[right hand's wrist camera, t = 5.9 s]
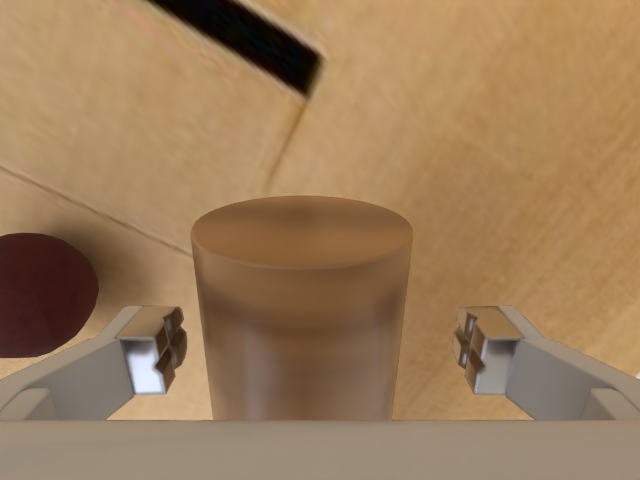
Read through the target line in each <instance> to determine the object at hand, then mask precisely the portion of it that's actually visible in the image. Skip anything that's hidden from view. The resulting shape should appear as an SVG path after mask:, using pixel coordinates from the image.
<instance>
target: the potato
mask: <svg viewBox="0 0 640 480" xmlns="http://www.w3.org/2000/svg"><path fill="white" fill-rule="evenodd" d="M98 291H99V289H98V280H97V277H96V274H95V272H94V270H93V268H92V266H91V264H90V263H89V261H88V260H87V259H86V258H85V257H84V256H83V255H82V254H81V253H80V252H79V251H77V250H76V249H75V248H73V247H72V246H71V245H69V244H68V243H66V242H65V241H63V240H60V239H57V238H55V237H52V236H48V235H44V234H37V233H16V234H8V235H4V236H1V237H0V358H29V357H38V356H41V355H44V354H47V353H50V352H52V351H54V350H55V349H57V348H59V347H60V346H62V345H64V344H65V343H67V342H68V341H69V340H71V339H72V338H73V337H75V336H76V335H77V334H78V332H79V331H80V330H81V329H82V327H83V326H84V325H85V323H86V321H87V320H88V318H89V317H90V315H91V313H92V311H93V309H94V308H95V303H96V299H97V295H98Z"/></svg>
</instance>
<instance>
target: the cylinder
mask: <svg viewBox="0 0 640 480" xmlns="http://www.w3.org/2000/svg"><path fill="white" fill-rule="evenodd" d="M412 241H413V230H412V227H411V225H410V224H409V222H408V221H407V220H406V219H404V218H403V217H402V216H400V215H398V214H397V213H395V212H393V211H390V210H388V209H386V208H383V207H380V206H377V205H373V204H370V203H366V202H361V201H356V200H350V199H343V198H334V197H322V196H282V197H270V198H261V199H254V200H248V201H243V202H239V203H234V204H231V205H227V206H224V207H221V208H218V209H216V210H213V211H211V212H209V213H207V214H205V215H204V216H202V217H201V218H200V219H198V220H197V221H196V222H195V224H194V225H193V227H192V230H191V243H192V251H193V259H194V267H195V276H196V284H197V292H198V300H199V308H200V316H201V324H202V332H203V340H204V348H205V357H206V365H207V373H208V381H209V389H210V397H211V405H212V413H213V420H392V412H393V404H394V395H395V386H396V378H397V369H398V361H399V352H400V344H401V335H402V327H403V318H404V309H405V301H406V292H407V284H408V275H409V267H410V258H411V249H412Z"/></svg>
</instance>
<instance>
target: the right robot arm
mask: <svg viewBox="0 0 640 480" xmlns="http://www.w3.org/2000/svg"><path fill="white" fill-rule="evenodd" d="M183 320H184V317H183V312H182V309H181V308H180V307H178V306H126V307H124V308H123V309H122V310H121V311H120V312H119V313H118V314H117V315H116V316H115V317H114V319H113V320H112V321H111V322H110V323H109V324H108V325H107V326H106V327H105V328H104V329H103V330H102V331H101V332H100V333H99V334H98V335H97V336H96V337H95V338H94V339H87V340H85V341H83V342H81V343H78V344H76V345H74V346H72V347H70V348H68V349H65V350H63V351H61V352H59V353H57V354H55V355H52V356H50V357H48V358H46V359H44V360H42V361H39V362H37V363H35V364H33V365H31V366H29V367H26V368H24V369H22V370H20V371H18V372H16V373H13V374H11V375H9V376H7V377H5V378H3V379H0V480H640V380H639V379H637V378H635V377H633V376H631V375H629V374H626V373H624V372H622V371H620V370H618V369H616V368H613V367H611V366H609V365H607V364H605V363H603V362H600V361H598V360H596V359H594V358H592V357H590V356H588V355H585V354H583V353H581V352H579V351H577V350H575V349H572V348H570V347H568V346H566V345H564V344H562V343H559V342H557V341H555V340H553V339H546V338H545V337H544V336H543V335H542V334H541V333H540V332H539V331H538V330H537V329H536V328H535V327H534V326H533V325H532V324H531V323H530V322H529V321H528V319H527V318H526V317H525V316H524V315H523V314H522V313H521V312H520V311H519V310H518V309H517V308H516V307H514V306H483V307H459V310H458V312H457V317H456V320H457V322H458V324H459V325H460V326H459V327H458V329H457V330H456V331H455V332H454V335H453V352H454V355H455V358H456V360H457V362H458V364H459V365H460V366H461V367H463V368H464V369H466V371H465V378H466V380H467V382H468V384H469V385H470V387H471V389H472V391H473V393H474V394H482V395H506V397H507V398H508V399H510V400H511V401H512V402H513V403H515V404H516V405H517V406H518V407H520V408H521V409H522V410H523V411H525V412H526V413H527V414H528V415H530V416H531V417H532V418H533V419H534V420H106V419H107V418H108V417H109V416H111V415H112V414H113V413H114V412H116V411H117V410H118V409H119V408H121V407H122V406H123V405H124V404H126V403H127V402H128V401H129V400H131V399H132V398H133V397H134V395H157V394H166V393H167V391H168V389H169V387H170V385H171V384H172V382H173V380H174V378H175V371H174V369H176V368H177V367H179V366H180V365H181V364H182V362H183V360H184V358H185V355H186V351H187V334H186V332H185V331H184V330H183V329H182V327H181V326H180V325H181V324H182V322H183Z"/></svg>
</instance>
